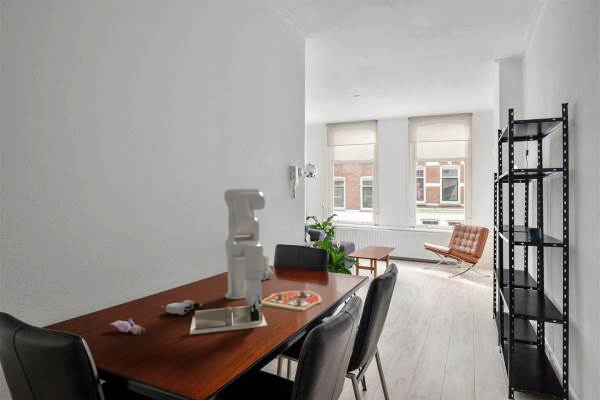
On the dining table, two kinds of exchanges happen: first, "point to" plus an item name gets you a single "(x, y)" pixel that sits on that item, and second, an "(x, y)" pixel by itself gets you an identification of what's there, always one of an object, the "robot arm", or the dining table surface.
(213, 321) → the fence base
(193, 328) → the card
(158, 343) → the dining table surface
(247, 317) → the fence panel
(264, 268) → the chinaware
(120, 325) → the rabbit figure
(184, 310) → the robot toy
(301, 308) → the knob puzzle
